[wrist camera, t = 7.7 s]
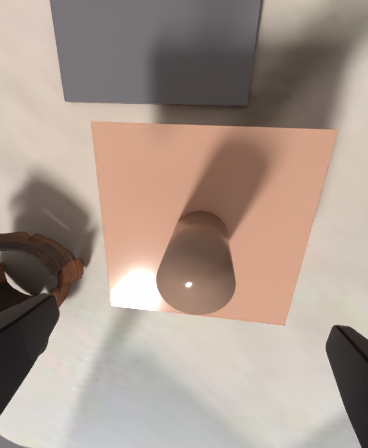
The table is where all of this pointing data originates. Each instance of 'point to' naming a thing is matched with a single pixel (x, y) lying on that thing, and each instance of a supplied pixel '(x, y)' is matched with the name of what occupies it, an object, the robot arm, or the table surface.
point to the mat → (156, 50)
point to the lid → (208, 215)
